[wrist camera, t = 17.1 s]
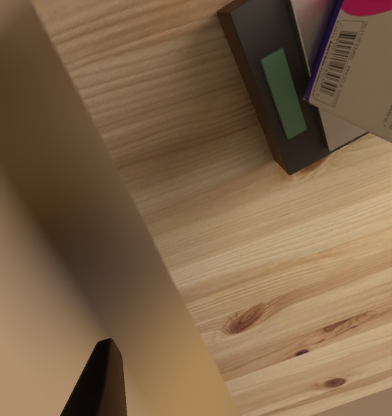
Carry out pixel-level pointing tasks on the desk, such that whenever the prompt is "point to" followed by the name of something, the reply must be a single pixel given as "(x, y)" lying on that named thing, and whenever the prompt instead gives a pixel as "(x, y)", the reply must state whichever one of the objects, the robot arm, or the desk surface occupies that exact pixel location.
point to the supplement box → (356, 66)
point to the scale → (286, 75)
